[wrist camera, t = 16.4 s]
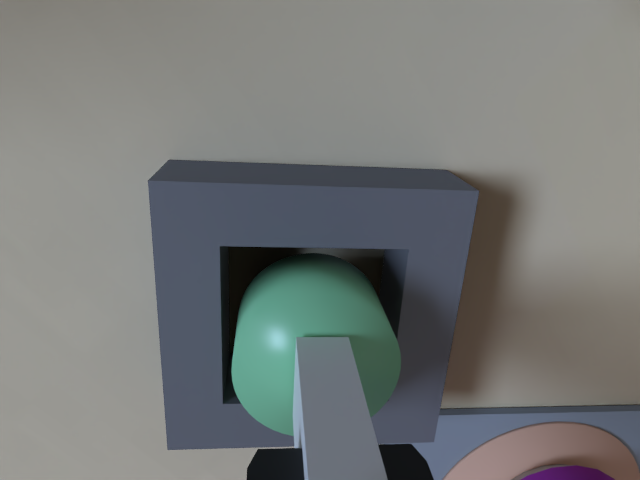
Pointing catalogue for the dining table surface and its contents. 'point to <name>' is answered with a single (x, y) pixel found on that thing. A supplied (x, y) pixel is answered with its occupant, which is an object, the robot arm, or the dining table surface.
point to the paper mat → (533, 441)
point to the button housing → (303, 232)
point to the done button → (308, 333)
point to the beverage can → (563, 473)
